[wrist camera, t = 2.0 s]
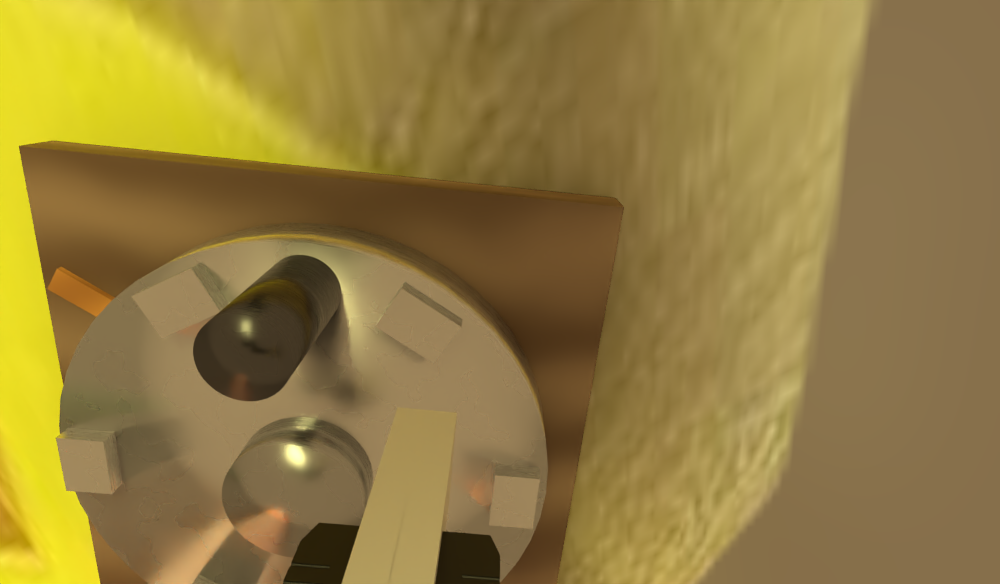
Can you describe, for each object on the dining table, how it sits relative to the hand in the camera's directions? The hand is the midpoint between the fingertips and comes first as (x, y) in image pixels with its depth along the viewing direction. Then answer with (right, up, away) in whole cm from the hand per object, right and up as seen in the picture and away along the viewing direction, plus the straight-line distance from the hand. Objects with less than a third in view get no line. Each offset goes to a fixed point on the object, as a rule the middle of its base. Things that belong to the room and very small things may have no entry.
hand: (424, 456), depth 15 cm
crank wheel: (-7, -3, +15) cm, 16 cm away
